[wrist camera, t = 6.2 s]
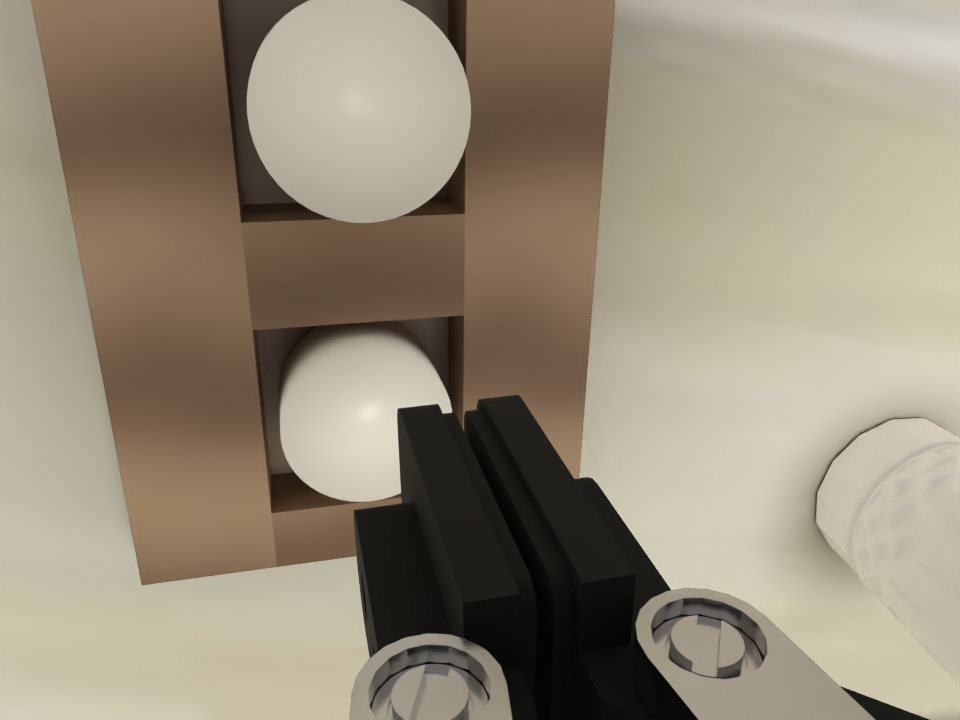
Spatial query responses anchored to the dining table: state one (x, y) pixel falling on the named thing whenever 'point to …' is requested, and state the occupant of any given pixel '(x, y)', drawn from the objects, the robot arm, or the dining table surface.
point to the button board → (311, 255)
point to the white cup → (902, 527)
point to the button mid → (358, 108)
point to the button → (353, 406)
